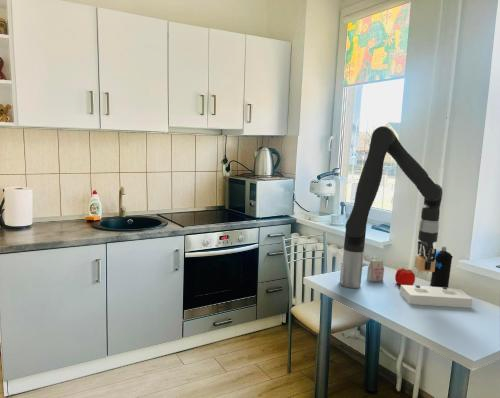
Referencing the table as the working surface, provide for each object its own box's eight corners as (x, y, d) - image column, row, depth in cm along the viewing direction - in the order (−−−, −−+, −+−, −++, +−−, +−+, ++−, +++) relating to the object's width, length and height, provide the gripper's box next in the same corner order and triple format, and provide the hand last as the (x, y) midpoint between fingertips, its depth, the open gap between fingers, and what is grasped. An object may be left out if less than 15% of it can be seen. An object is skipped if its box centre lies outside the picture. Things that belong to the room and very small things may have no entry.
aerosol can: (444, 284, 194) (449, 245, 191) (451, 290, 186) (456, 249, 183) (427, 282, 195) (432, 243, 192) (433, 289, 187) (438, 248, 184)
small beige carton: (366, 279, 196) (368, 259, 194) (378, 278, 198) (380, 259, 196) (371, 281, 192) (373, 262, 191) (382, 280, 194) (384, 261, 193)
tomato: (416, 288, 186) (418, 273, 185) (398, 287, 186) (399, 272, 185) (409, 281, 195) (411, 267, 194) (391, 280, 196) (393, 266, 194)
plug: (418, 275, 169) (421, 255, 167) (413, 271, 174) (416, 251, 173) (433, 276, 169) (436, 256, 167) (428, 272, 174) (430, 252, 173)
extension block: (409, 303, 167) (410, 293, 167) (399, 293, 179) (400, 283, 179) (471, 307, 167) (472, 297, 166) (457, 296, 178) (458, 287, 178)
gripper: (413, 226, 176) (409, 262, 178) (426, 233, 161) (422, 272, 164) (430, 226, 175) (426, 263, 178) (445, 234, 161) (440, 273, 164)
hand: (424, 267), depth 171 cm, fingers closed on plug, 5 cm apart
